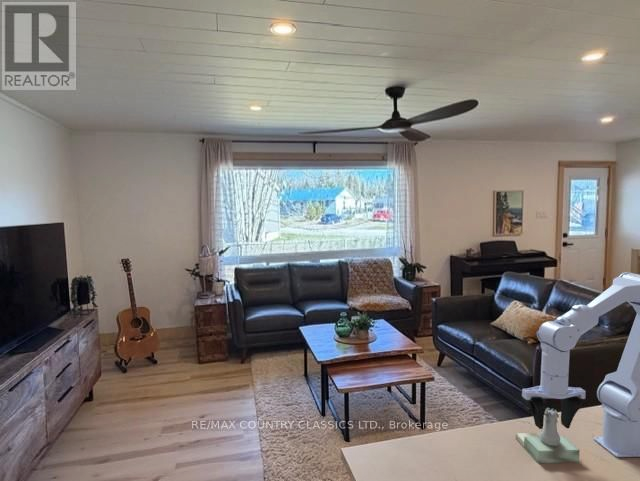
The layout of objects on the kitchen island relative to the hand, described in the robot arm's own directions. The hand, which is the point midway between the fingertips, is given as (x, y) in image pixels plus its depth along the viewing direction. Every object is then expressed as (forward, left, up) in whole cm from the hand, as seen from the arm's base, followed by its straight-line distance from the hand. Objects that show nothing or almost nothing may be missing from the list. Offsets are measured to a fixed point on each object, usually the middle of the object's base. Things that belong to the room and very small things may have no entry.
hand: (552, 426), depth 98 cm
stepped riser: (0, -2, -7) cm, 7 cm away
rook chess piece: (0, 0, -4) cm, 4 cm away
